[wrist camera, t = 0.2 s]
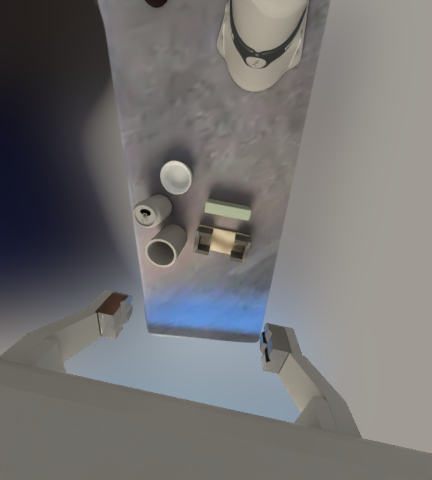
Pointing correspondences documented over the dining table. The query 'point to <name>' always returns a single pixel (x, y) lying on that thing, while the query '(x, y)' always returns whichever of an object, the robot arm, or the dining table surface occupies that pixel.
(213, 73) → the dining table surface
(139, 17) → the dining table surface
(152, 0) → the bottle
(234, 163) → the dining table surface
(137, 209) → the can
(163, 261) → the cup
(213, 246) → the grey and cream cradle
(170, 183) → the ramekin
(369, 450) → the robot arm
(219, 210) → the slat
